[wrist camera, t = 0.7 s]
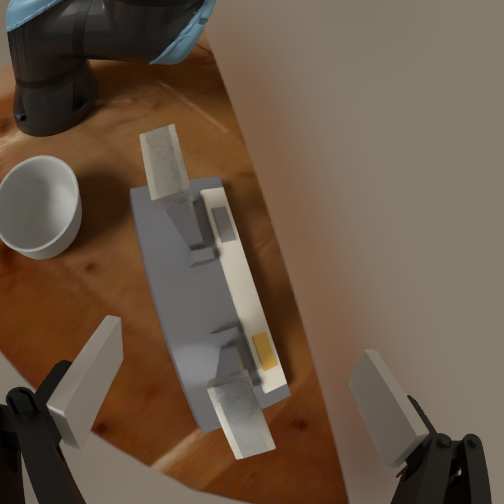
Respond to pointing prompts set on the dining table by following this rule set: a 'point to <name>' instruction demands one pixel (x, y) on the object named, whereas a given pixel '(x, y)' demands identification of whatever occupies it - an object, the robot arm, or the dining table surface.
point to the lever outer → (238, 406)
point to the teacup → (40, 207)
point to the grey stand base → (206, 298)
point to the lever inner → (170, 182)
